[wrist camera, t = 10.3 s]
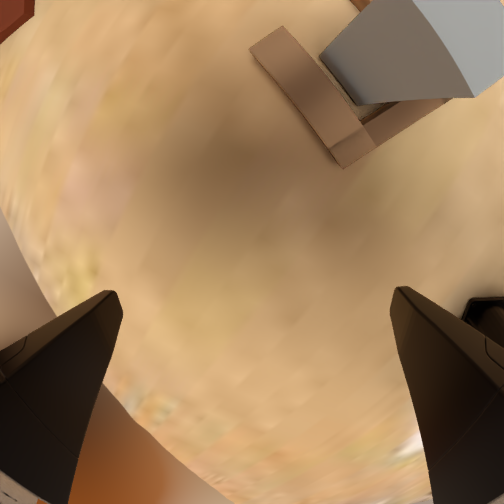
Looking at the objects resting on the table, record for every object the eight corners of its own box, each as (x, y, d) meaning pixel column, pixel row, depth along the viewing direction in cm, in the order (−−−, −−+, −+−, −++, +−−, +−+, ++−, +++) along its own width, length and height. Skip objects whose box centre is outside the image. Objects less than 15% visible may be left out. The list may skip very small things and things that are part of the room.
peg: (400, 77, 16) (530, 55, 5) (356, 105, 17) (474, 97, 6) (364, 28, 15) (466, -44, 4) (318, 56, 16) (394, -21, 5)
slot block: (451, 89, 15) (468, 88, 13) (337, 162, 19) (342, 169, 17) (375, -15, 13) (383, -28, 11) (254, 56, 17) (248, 48, 14)
